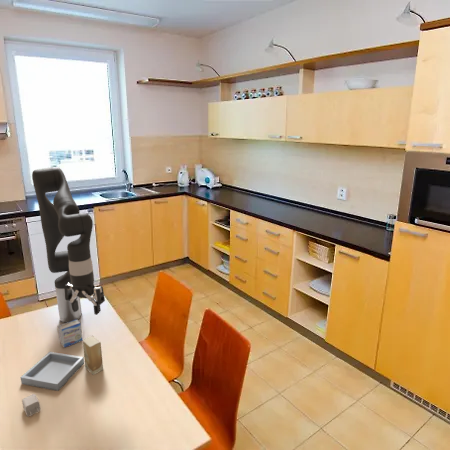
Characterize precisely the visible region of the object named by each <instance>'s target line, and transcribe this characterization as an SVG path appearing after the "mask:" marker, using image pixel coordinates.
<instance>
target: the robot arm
mask: <svg viewBox="0 0 450 450" xmlns="http://www.w3.org/2000/svg"><path fill="white" fill-rule="evenodd" d="M31 173H32V174H31V178H32V184H33V189H34V192H35V196H36V200H37V203H38V208H39V216H40V223H41V224H40V225H41V228H42V229H41V230H42V233H43V237H44V242H45V248H46V249H45V250H46V258H47V259H46V260H47V266H48V270H49V271H50V272H51V273H52V274H58V273H64V274H62V275H60V276H58V277H57V278H55V279H54V288H55V296H56V302H57V309H58V315H59V321H60V322H62V323H68V322H71V321H74V320H76V319H77V320H79V319H80V318H81V317H82V316H81V315H82V313H83V311H82V305H81V304H82V303H81V299H82V298H83V299H86V300H88V301H89V302H91V303H92V305H93V313H94V315H98V314H99V313H101V312H102V311H101V305H102V304H103V303H105V301H106V298H105V294H104V288H103V286H102V285H100V286H98V287H97V286H95V284H94V283H95V275H94V269H93V260H92V256H91V248H90V245H91V238H92V231H93V227H94V223H93V222H94V221H93V218H92V217H91V215H90V214H88V213H85V212H80V208H79V206H78V205H77V203H76V202H75V199H74V198H73V196H72V193H71V189H70V187H69V183H68V181H67V178H66V175H65V173H64V172H63V170H62V168H60V167H57V166H55V167H54V166H53V167H45V168H38V169H35V170H32V172H31ZM53 192H56V193H55V196H54V198H53V200H52V202H51V201H50V199H49V198H48V197H47V195H46V194H49V193H53ZM78 235H79V237H78V238H77V239H75V240H72V241H71V242H69V243H68V244H67V246H66V248H67V249H66V250H63V251H62V250H61V251H56V250H57V247H58V245H59V244H60V243H61V241H62V240H63V239H64V237H74V236H76V237H77V236H78Z"/></svg>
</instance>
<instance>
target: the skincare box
mask: <svg viewBox="0 0 450 450" xmlns="http://www.w3.org/2000/svg"><path fill="white" fill-rule="evenodd" d="M81 342H82V348H83V349H82V351H83V357H84V367H85V369H86V370H87V371H88V372H89V373H91V375H95V374H97V373H100V372H101V371H103V370H104V361H103V355H102V353H103V351H102V342H101V341H100V340H99V339H98V338H97V337H95V336H94V335H90V336H88V337H86V338H84V339H83V340H82V341H81Z"/></svg>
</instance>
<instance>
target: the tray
mask: <svg viewBox="0 0 450 450" xmlns="http://www.w3.org/2000/svg"><path fill="white" fill-rule="evenodd" d="M83 365H85V359H84V356H79V355H72V354H66V353H59V352H55V351H48V352H47V353H46V354H45V355H44V356H43V357H41V359H39V361H37V362H36V363H35V364H34V365H32V367H30V368H29V369H28V370H27V371H25V373H24V374H23V375H21V376H20V383H21V385H26V386H31V387H35V388H36V387H37V388H41V389H46V390H51V391H58V392H59V391H60V390H61V388H63V387H64V386H65V384H66V383H68V381H69V380H70V379H71V378H72V377H73V376H74V375H75V374H76V373H77V372H78V371H79V370H80V368H82V367H83Z"/></svg>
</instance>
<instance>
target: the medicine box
mask: <svg viewBox="0 0 450 450" xmlns="http://www.w3.org/2000/svg"><path fill="white" fill-rule="evenodd" d="M57 328H58V334H59V341H60V345H61V346H62V347H63V348H67V347H70V346H72V345H75V344H77V343H80V342H83V341H82V340H84V339H83V334H82V323H80V321H79V319H76V320H74V321H71V322H64V323H63V324H60V325H57Z"/></svg>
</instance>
